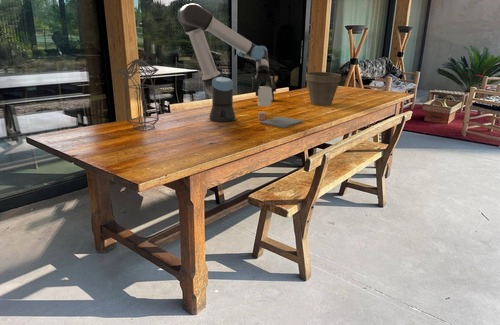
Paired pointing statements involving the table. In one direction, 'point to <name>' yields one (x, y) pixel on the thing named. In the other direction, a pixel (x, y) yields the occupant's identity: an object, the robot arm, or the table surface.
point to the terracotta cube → (262, 115)
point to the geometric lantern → (139, 90)
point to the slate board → (281, 122)
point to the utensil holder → (272, 85)
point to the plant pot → (322, 87)
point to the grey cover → (264, 96)
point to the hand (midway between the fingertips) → (265, 100)
